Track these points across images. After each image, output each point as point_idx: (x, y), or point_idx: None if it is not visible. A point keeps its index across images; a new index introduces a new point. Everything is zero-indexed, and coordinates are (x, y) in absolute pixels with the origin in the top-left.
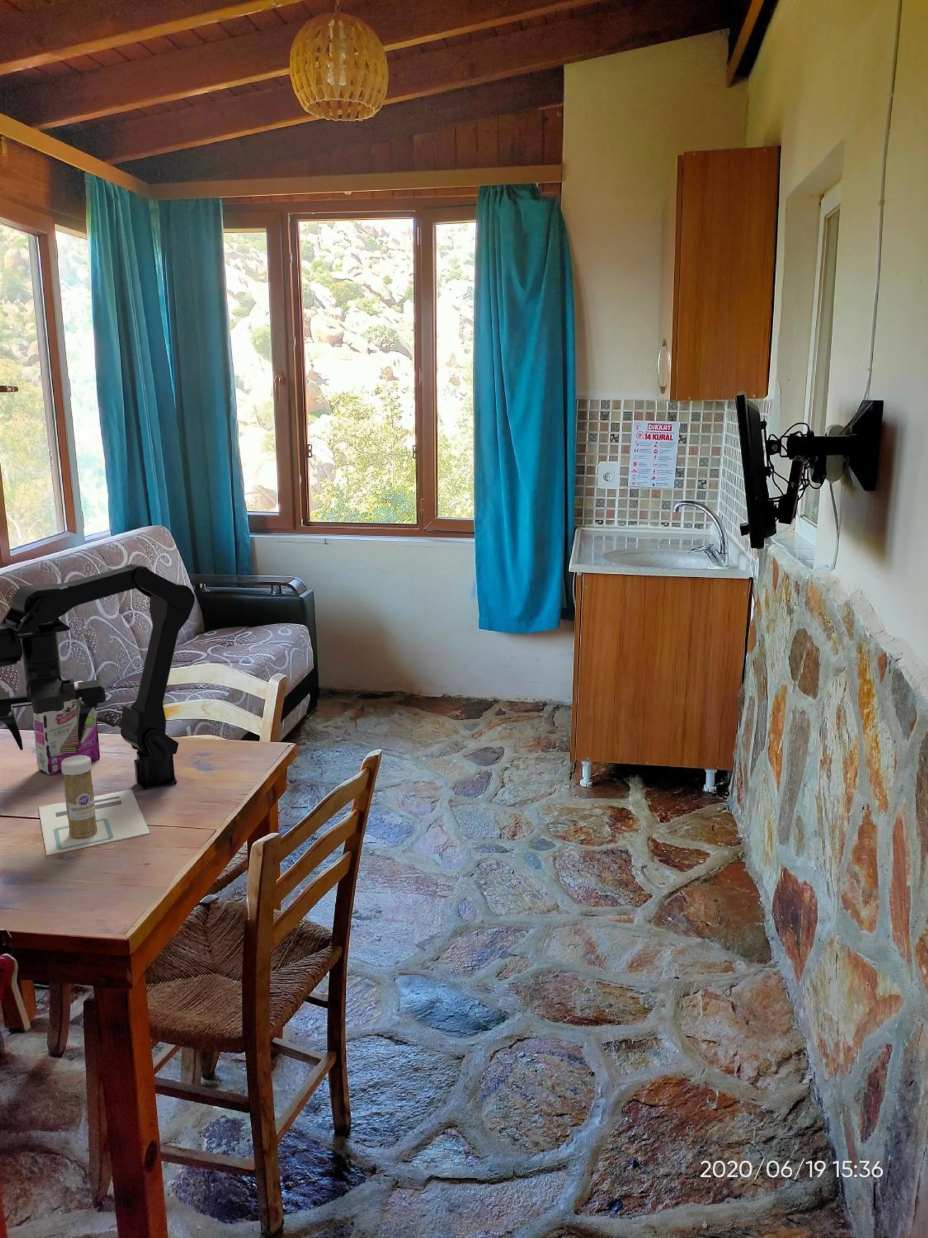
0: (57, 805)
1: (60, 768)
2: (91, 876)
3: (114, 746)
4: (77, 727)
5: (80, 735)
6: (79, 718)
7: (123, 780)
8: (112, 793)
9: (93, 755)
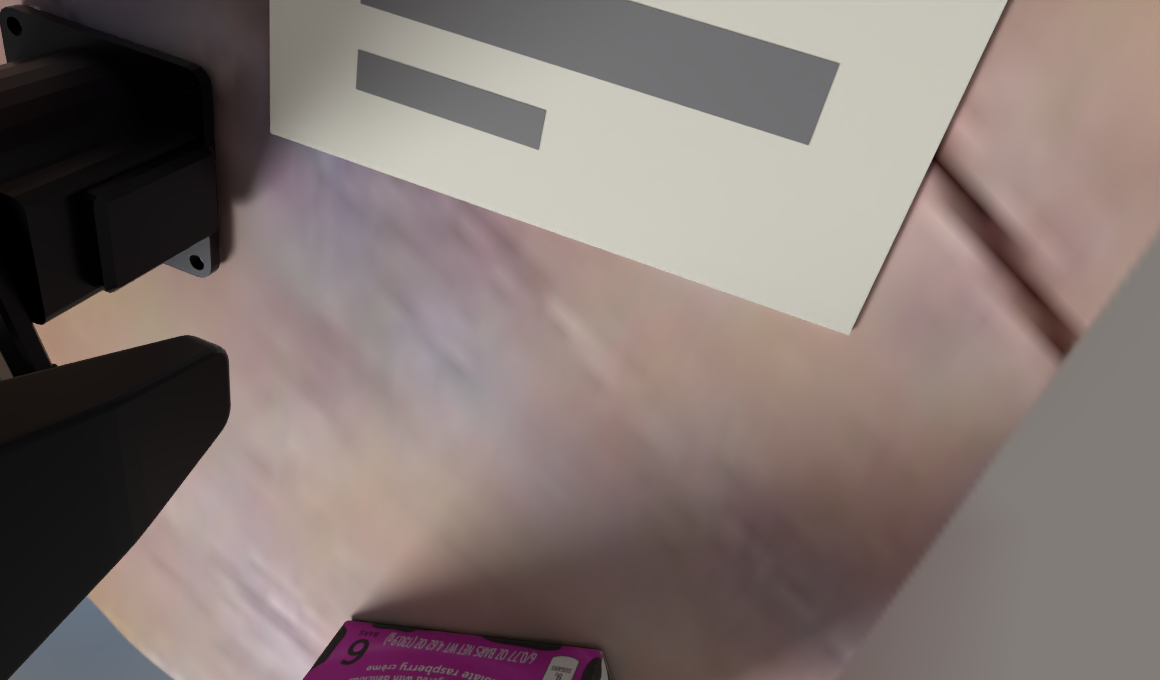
0: (738, 259)
1: (537, 657)
2: None
3: (270, 670)
4: (23, 538)
5: (105, 369)
6: None
7: (293, 310)
8: (383, 164)
9: (360, 645)
